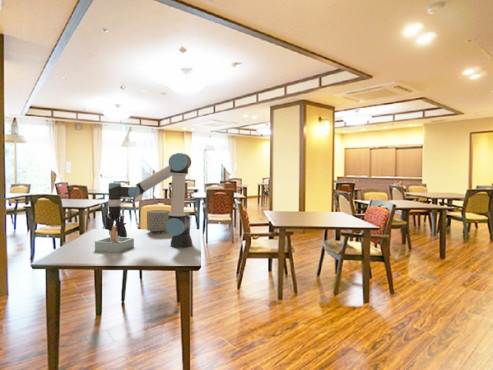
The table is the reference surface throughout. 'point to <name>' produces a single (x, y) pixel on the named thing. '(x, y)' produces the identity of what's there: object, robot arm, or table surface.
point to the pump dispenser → (123, 231)
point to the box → (114, 244)
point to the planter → (157, 220)
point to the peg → (114, 234)
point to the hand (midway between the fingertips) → (114, 240)
